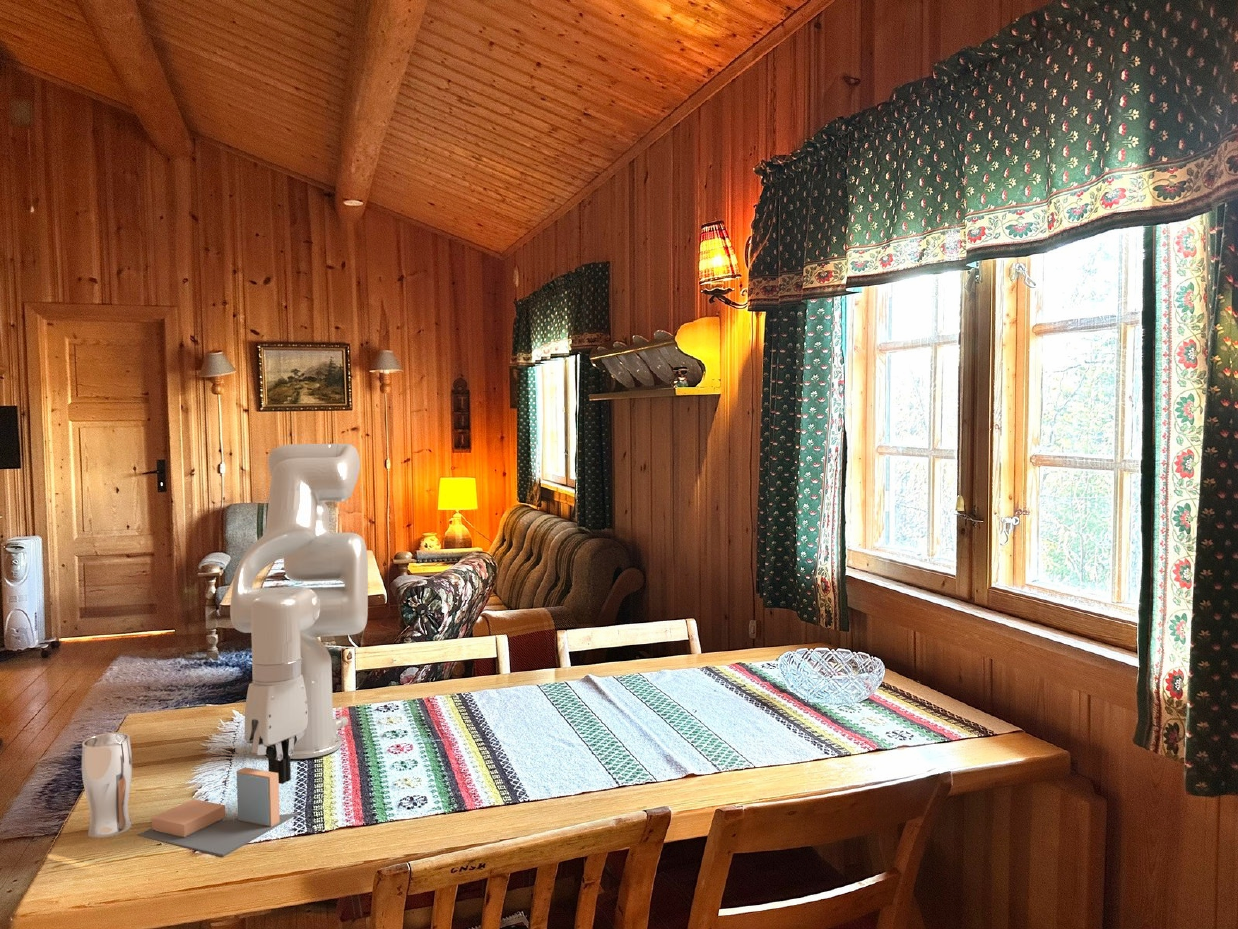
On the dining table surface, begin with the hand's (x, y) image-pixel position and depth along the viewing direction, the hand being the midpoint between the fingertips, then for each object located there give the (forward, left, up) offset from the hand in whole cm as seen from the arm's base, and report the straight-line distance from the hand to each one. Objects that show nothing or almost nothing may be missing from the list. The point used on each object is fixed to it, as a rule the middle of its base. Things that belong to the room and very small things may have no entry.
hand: (279, 781), depth 153 cm
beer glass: (+16, -20, -6) cm, 26 cm away
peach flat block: (+5, 0, -5) cm, 7 cm away
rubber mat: (+7, -5, -6) cm, 10 cm away
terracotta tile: (+6, -10, -4) cm, 12 cm away
